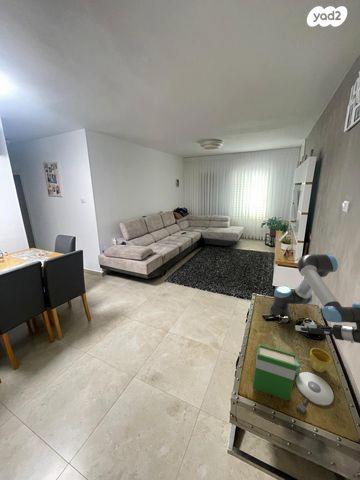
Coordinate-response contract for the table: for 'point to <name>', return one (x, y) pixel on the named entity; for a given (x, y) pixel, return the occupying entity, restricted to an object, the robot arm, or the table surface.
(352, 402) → the table surface
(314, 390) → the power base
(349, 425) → the table surface
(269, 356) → the hardback book
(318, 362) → the plant pot
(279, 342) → the table surface
